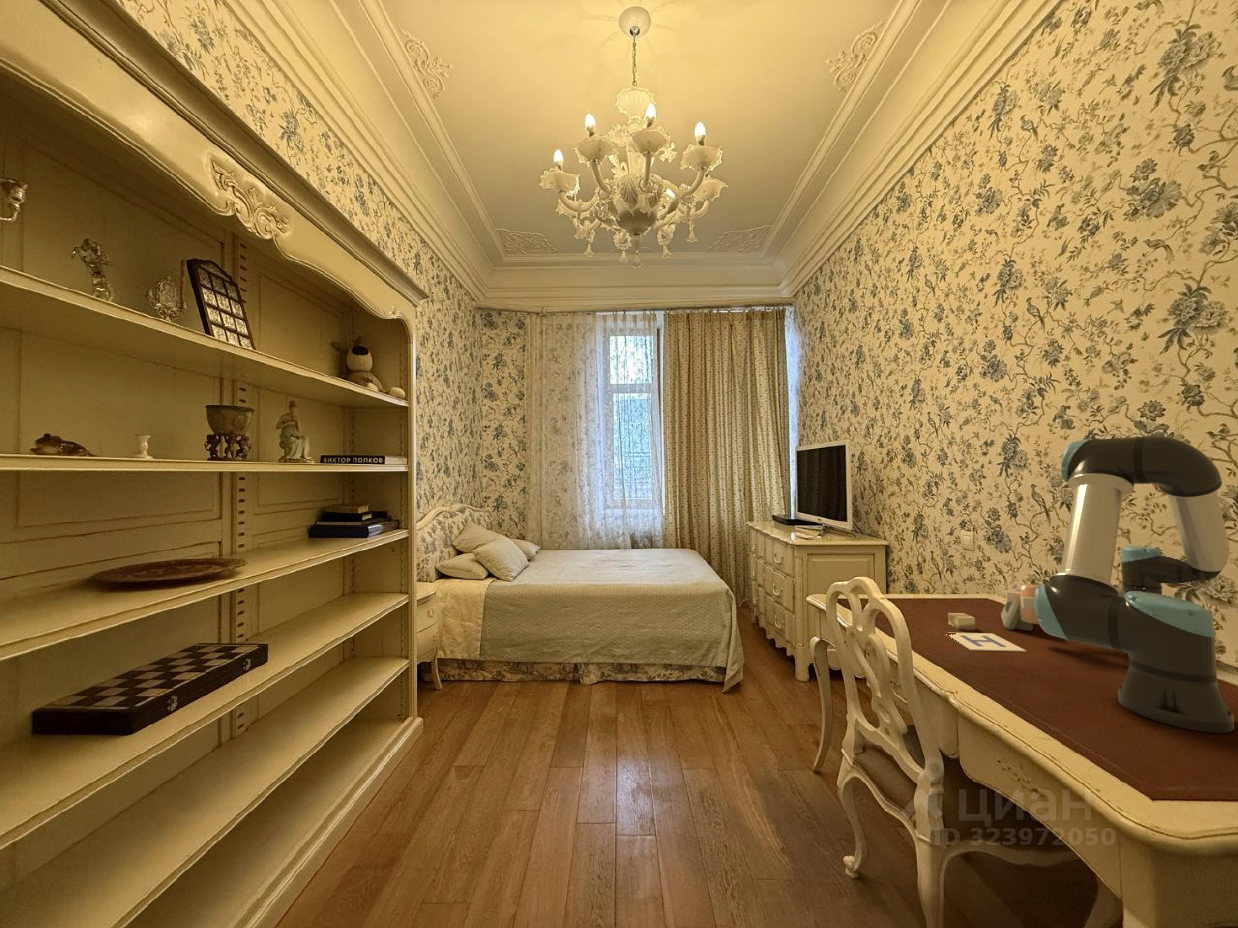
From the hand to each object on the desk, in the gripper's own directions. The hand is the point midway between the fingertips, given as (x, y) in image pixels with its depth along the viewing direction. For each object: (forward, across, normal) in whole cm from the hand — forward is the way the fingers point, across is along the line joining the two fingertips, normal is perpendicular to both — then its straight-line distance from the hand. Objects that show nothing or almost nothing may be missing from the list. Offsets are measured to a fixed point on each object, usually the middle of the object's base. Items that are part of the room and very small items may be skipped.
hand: (1014, 599), depth 135 cm
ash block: (+7, +13, -13) cm, 20 cm away
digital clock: (-11, +17, -12) cm, 24 cm away
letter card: (+9, 0, -12) cm, 15 cm away
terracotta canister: (-5, 0, -6) cm, 8 cm away
